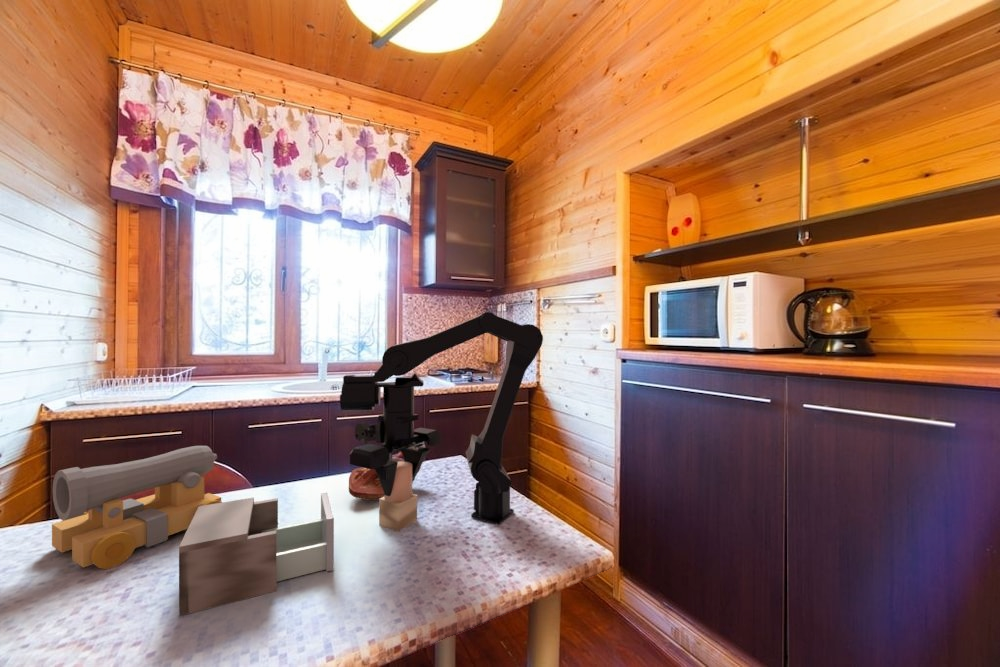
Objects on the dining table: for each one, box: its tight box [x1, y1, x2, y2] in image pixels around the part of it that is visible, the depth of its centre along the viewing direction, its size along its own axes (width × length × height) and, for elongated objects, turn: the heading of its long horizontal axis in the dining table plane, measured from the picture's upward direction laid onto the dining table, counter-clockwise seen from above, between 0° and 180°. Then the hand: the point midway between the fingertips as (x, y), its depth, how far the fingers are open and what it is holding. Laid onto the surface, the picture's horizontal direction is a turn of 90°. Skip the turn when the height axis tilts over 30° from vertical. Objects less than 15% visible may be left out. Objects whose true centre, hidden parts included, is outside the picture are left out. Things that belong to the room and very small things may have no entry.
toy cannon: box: [51, 445, 223, 570], centre depth 73 cm, size 16×22×15 cm
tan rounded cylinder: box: [384, 461, 413, 503], centre depth 78 cm, size 5×5×6 cm
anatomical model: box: [348, 451, 426, 501], centre depth 92 cm, size 11×13×15 cm
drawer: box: [261, 492, 335, 583], centre depth 65 cm, size 10×11×8 cm
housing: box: [178, 497, 279, 617], centre depth 61 cm, size 11×14×9 cm
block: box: [378, 493, 418, 532], centre depth 78 cm, size 5×5×5 cm
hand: (398, 490), depth 78 cm, fingers closed on tan rounded cylinder, 5 cm apart
